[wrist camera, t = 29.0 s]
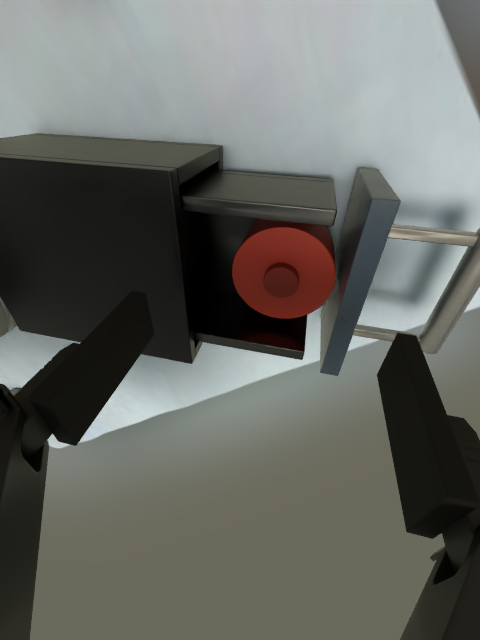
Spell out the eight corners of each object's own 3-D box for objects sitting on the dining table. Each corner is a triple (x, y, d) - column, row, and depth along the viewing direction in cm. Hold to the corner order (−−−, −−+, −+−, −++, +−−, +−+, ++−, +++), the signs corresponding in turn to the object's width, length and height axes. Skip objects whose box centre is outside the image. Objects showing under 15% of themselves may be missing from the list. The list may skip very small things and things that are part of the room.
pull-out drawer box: (491, 177, 17) (569, 215, 11) (412, 328, 24) (437, 394, 18) (171, 154, 20) (116, 175, 14) (186, 293, 27) (152, 341, 22)
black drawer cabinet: (222, 145, 19) (170, 171, 13) (224, 299, 27) (192, 364, 21) (36, 133, 22) (-88, 150, 15) (87, 278, 30) (19, 330, 23)
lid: (247, 292, 24) (235, 322, 21) (238, 211, 20) (222, 233, 17) (330, 294, 22) (331, 327, 19) (338, 206, 18) (341, 229, 15)
